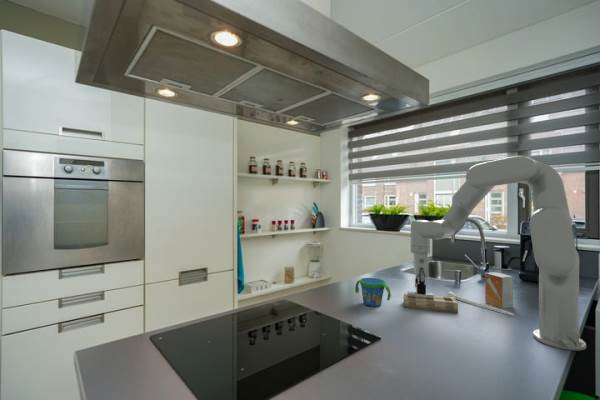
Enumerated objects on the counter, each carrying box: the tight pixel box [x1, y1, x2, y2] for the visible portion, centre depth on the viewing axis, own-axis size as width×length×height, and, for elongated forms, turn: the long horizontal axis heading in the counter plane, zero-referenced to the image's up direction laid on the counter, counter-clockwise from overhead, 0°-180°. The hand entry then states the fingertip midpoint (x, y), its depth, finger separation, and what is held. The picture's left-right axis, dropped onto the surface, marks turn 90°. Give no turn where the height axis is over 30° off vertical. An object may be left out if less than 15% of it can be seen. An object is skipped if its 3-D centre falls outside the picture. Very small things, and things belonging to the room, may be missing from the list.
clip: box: [407, 283, 435, 299], centre depth 124 cm, size 3×10×9 cm, turn 74°
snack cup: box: [354, 277, 392, 308], centre depth 127 cm, size 16×10×10 cm
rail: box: [403, 292, 459, 314], centre depth 123 cm, size 7×20×4 cm, turn 73°
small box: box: [484, 271, 514, 310], centre depth 127 cm, size 8×6×13 cm
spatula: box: [445, 291, 515, 317], centre depth 127 cm, size 28×4×3 cm, turn 31°
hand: (420, 290), depth 124 cm, fingers open, 8 cm apart
